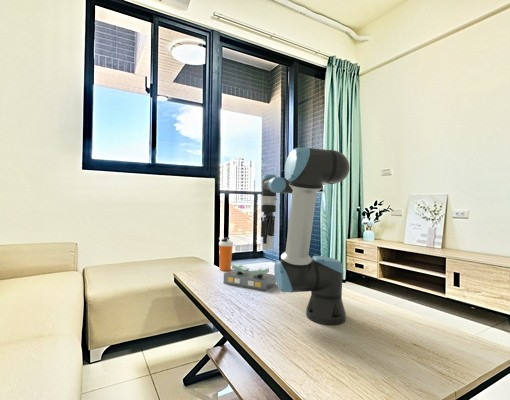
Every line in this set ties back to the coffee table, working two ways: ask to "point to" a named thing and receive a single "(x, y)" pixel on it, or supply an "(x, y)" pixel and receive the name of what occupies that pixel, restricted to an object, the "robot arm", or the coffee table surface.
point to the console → (250, 280)
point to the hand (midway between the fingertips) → (267, 249)
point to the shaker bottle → (225, 254)
